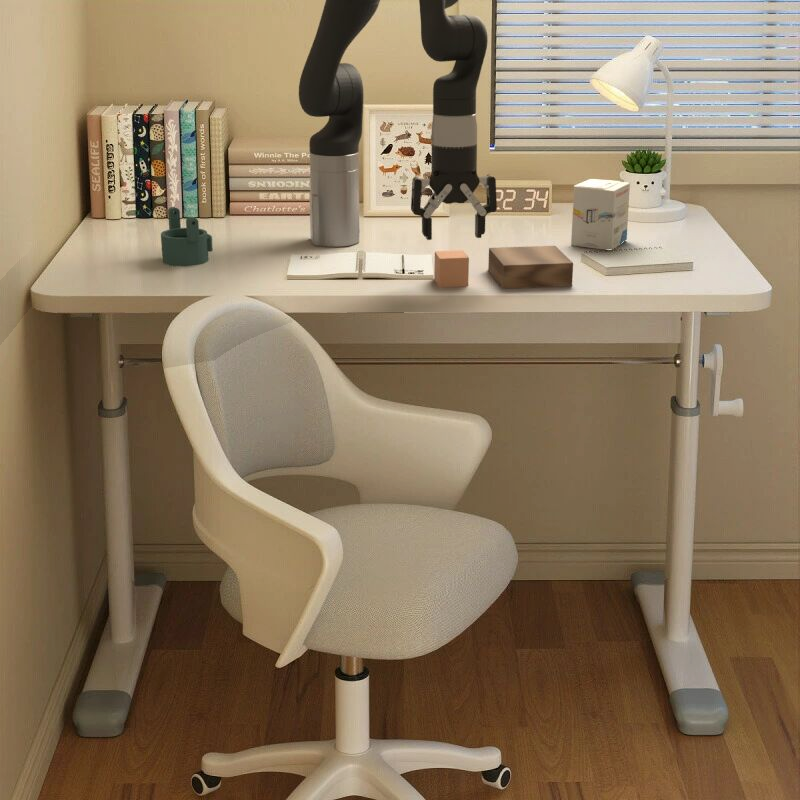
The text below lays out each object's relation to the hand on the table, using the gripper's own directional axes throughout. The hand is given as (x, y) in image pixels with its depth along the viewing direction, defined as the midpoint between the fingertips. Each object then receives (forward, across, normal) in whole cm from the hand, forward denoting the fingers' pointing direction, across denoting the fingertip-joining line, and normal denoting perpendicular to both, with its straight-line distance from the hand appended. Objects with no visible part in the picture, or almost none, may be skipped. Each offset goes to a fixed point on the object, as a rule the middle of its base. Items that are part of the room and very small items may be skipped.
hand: (453, 238), depth 212 cm
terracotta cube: (+8, 0, 0) cm, 8 cm away
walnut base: (+8, +14, +1) cm, 16 cm away
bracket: (+7, -45, +22) cm, 51 cm away
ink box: (+8, +33, +23) cm, 41 cm away
